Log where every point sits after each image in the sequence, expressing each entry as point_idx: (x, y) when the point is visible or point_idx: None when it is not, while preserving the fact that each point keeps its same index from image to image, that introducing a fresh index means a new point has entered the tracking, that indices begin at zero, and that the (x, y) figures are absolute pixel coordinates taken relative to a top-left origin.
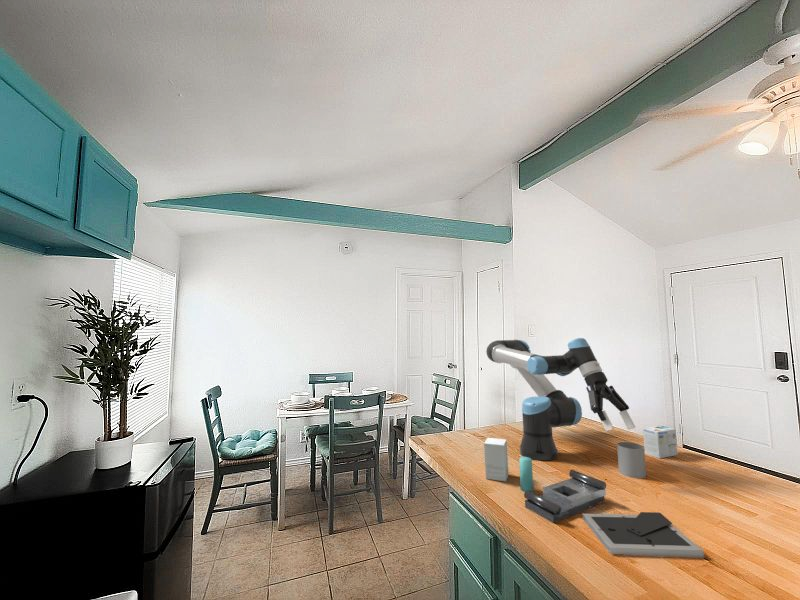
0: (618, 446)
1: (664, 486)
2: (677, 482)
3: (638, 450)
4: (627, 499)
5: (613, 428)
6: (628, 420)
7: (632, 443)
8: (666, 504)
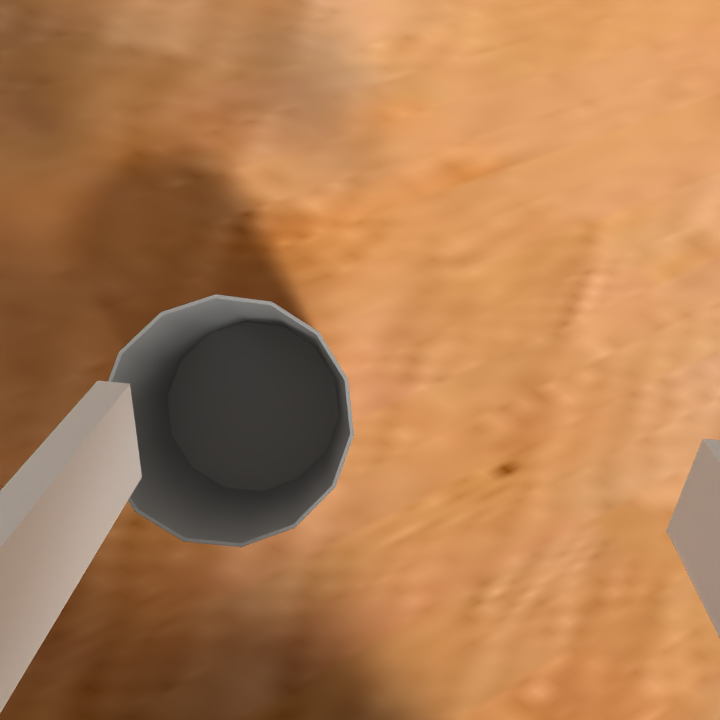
0: (322, 497)
1: (316, 183)
2: (173, 153)
3: (293, 316)
4: (689, 249)
5: (715, 441)
6: (78, 494)
7: None
8: (578, 89)
